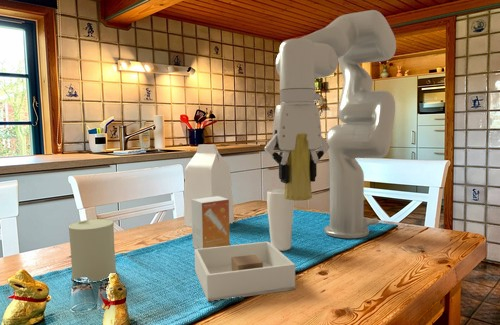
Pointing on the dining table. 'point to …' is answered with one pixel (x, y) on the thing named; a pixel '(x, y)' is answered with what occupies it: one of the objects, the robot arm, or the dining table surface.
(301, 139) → the vase
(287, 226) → the drinking glass
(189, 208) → the milk
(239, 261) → the walnut cube
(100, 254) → the can
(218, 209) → the small box
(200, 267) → the box
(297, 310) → the dining table surface
